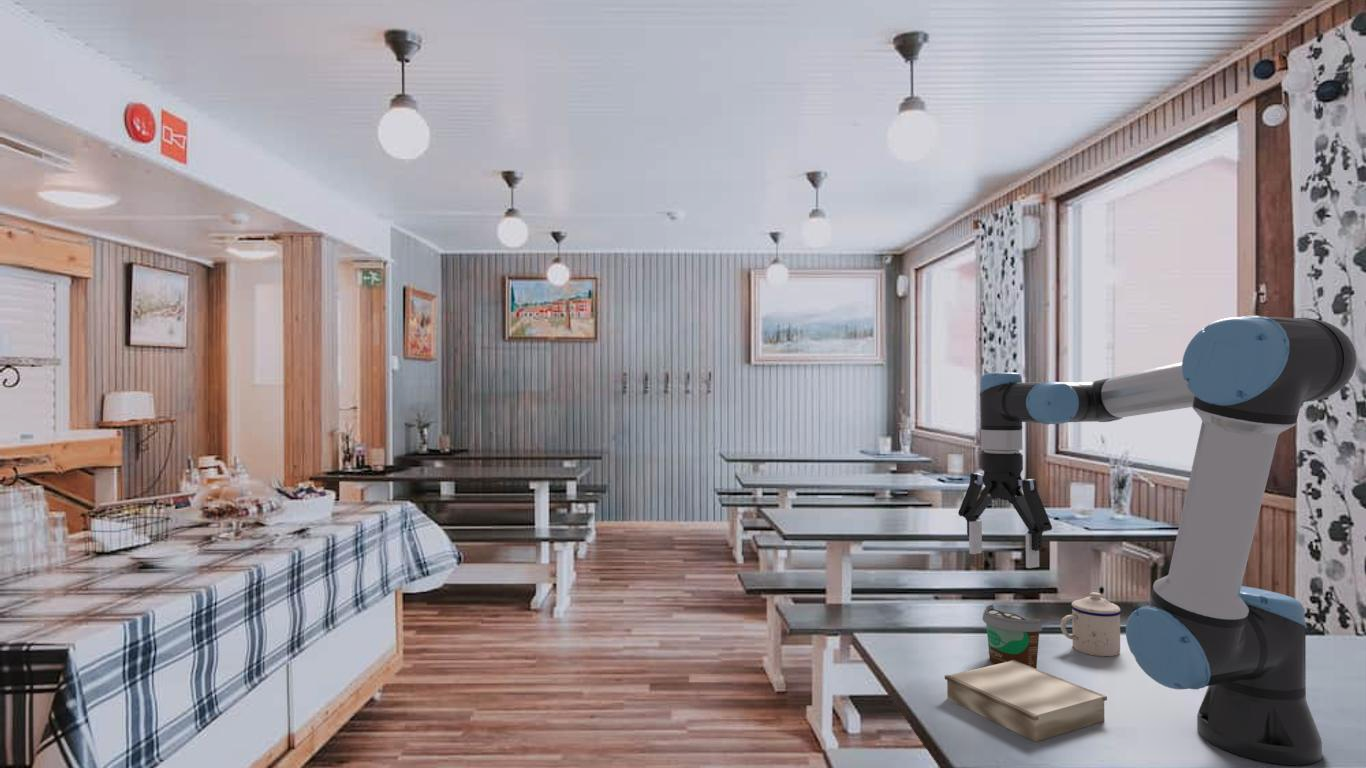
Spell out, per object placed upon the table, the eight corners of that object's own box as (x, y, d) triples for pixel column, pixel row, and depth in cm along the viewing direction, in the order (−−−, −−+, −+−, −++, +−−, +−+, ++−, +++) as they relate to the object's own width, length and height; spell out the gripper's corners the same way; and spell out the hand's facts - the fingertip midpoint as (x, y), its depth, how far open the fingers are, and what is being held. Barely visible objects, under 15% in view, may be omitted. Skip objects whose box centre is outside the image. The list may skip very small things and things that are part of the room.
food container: (969, 657, 152) (968, 607, 152) (991, 652, 154) (990, 603, 154) (1019, 678, 141) (1019, 624, 141) (1042, 672, 143) (1042, 620, 143)
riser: (1107, 721, 122) (1106, 696, 122) (1034, 742, 115) (1034, 716, 115) (1013, 681, 139) (1013, 659, 139) (944, 698, 132) (944, 675, 132)
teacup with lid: (1102, 641, 160) (1102, 586, 160) (1131, 656, 151) (1131, 598, 151) (1049, 643, 159) (1048, 588, 159) (1075, 659, 150) (1074, 600, 150)
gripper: (1071, 455, 138) (1073, 571, 138) (966, 446, 161) (967, 546, 160) (1043, 457, 135) (1045, 576, 135) (940, 448, 157) (941, 549, 157)
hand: (1003, 560), depth 148 cm, fingers open, 13 cm apart
